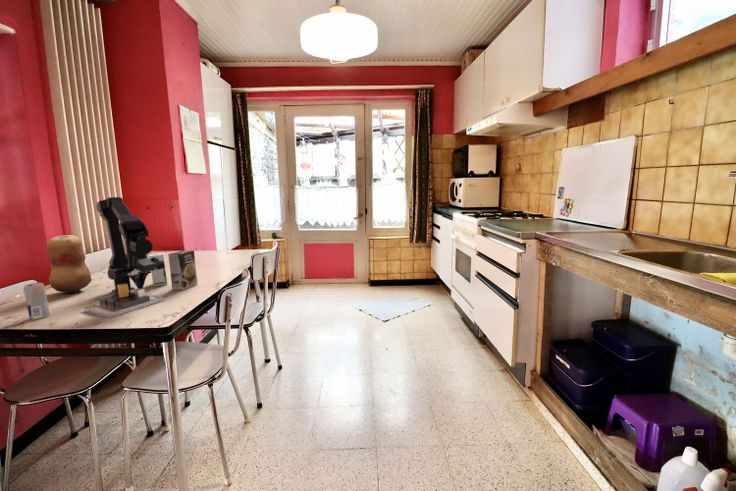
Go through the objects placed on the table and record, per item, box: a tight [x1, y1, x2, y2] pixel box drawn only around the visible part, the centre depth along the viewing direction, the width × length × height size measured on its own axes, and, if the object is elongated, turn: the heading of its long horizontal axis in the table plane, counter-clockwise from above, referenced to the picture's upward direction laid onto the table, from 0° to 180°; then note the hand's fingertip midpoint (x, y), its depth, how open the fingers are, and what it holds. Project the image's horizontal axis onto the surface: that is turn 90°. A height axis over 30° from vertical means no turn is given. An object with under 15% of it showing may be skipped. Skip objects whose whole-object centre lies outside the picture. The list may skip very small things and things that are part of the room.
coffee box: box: [168, 250, 199, 291], centre depth 157 cm, size 9×6×16 cm
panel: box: [83, 286, 164, 319], centre depth 134 cm, size 16×20×6 cm
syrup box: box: [148, 252, 168, 287], centre depth 162 cm, size 6×6×14 cm
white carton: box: [23, 282, 50, 321], centre depth 124 cm, size 5×5×12 cm
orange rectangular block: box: [117, 284, 129, 297], centre depth 134 cm, size 2×3×5 cm
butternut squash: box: [46, 234, 93, 294], centre depth 151 cm, size 14×13×25 cm
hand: (140, 289), depth 140 cm, fingers closed
